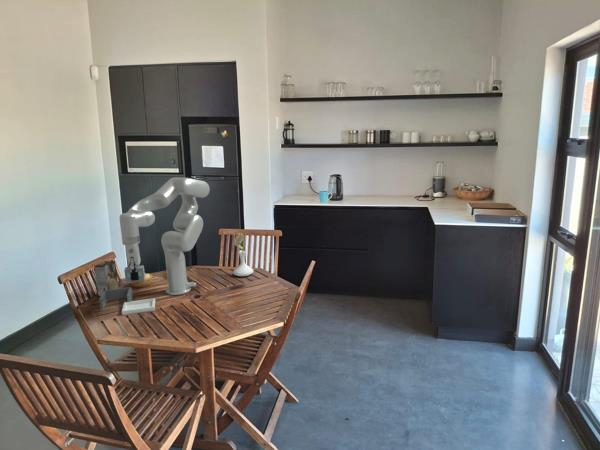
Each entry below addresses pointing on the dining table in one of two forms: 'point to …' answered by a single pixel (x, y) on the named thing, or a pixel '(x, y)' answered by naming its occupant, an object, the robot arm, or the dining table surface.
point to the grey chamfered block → (140, 274)
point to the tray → (138, 306)
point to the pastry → (143, 283)
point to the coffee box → (106, 276)
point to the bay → (115, 295)
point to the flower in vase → (242, 268)
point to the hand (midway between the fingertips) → (135, 278)
